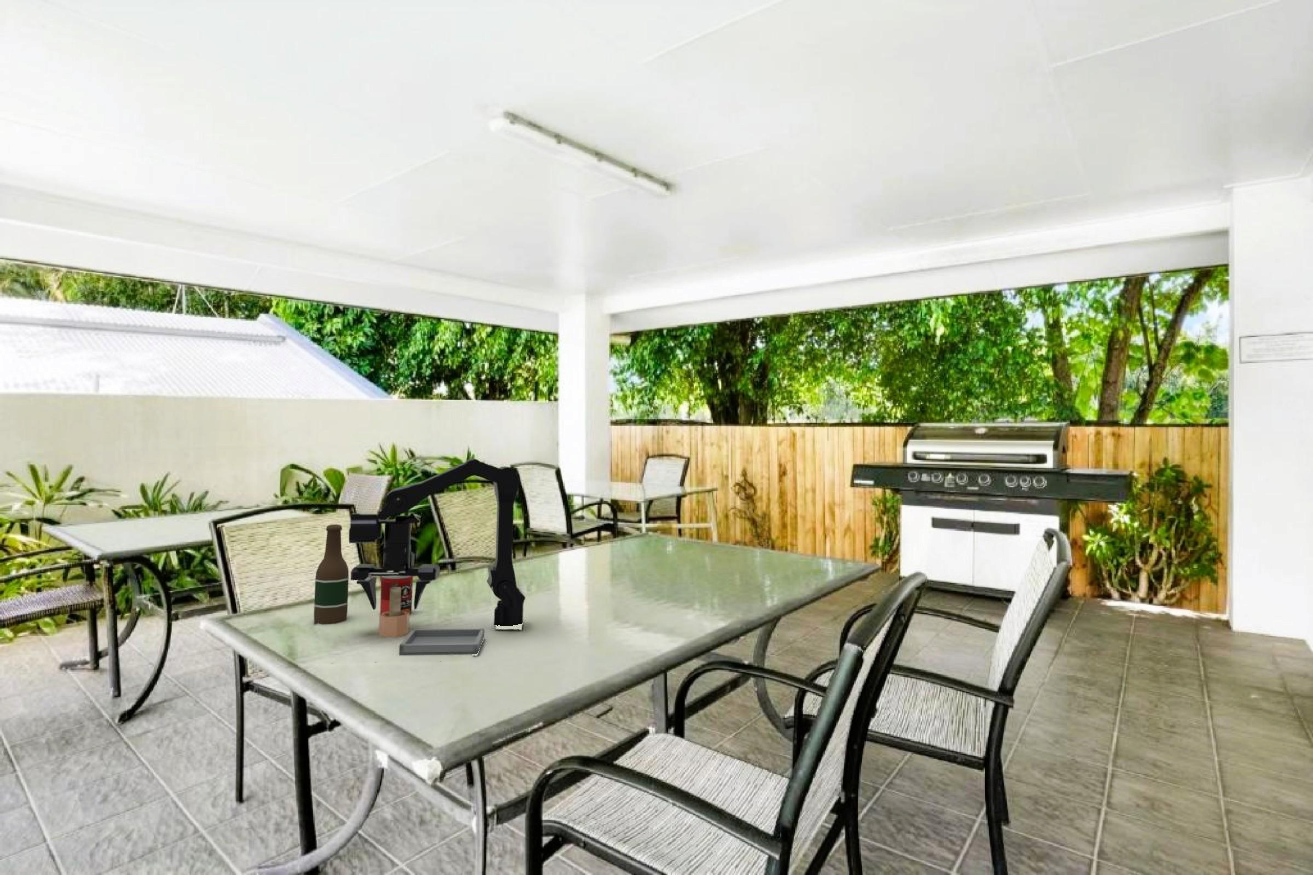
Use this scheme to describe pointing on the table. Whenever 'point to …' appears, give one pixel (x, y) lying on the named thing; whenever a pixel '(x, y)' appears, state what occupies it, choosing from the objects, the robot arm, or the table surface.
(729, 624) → the table surface
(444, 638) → the tray
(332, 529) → the beer bottle
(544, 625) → the table surface
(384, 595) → the canned food
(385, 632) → the cup
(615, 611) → the table surface
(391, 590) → the dowel pin
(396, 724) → the table surface
